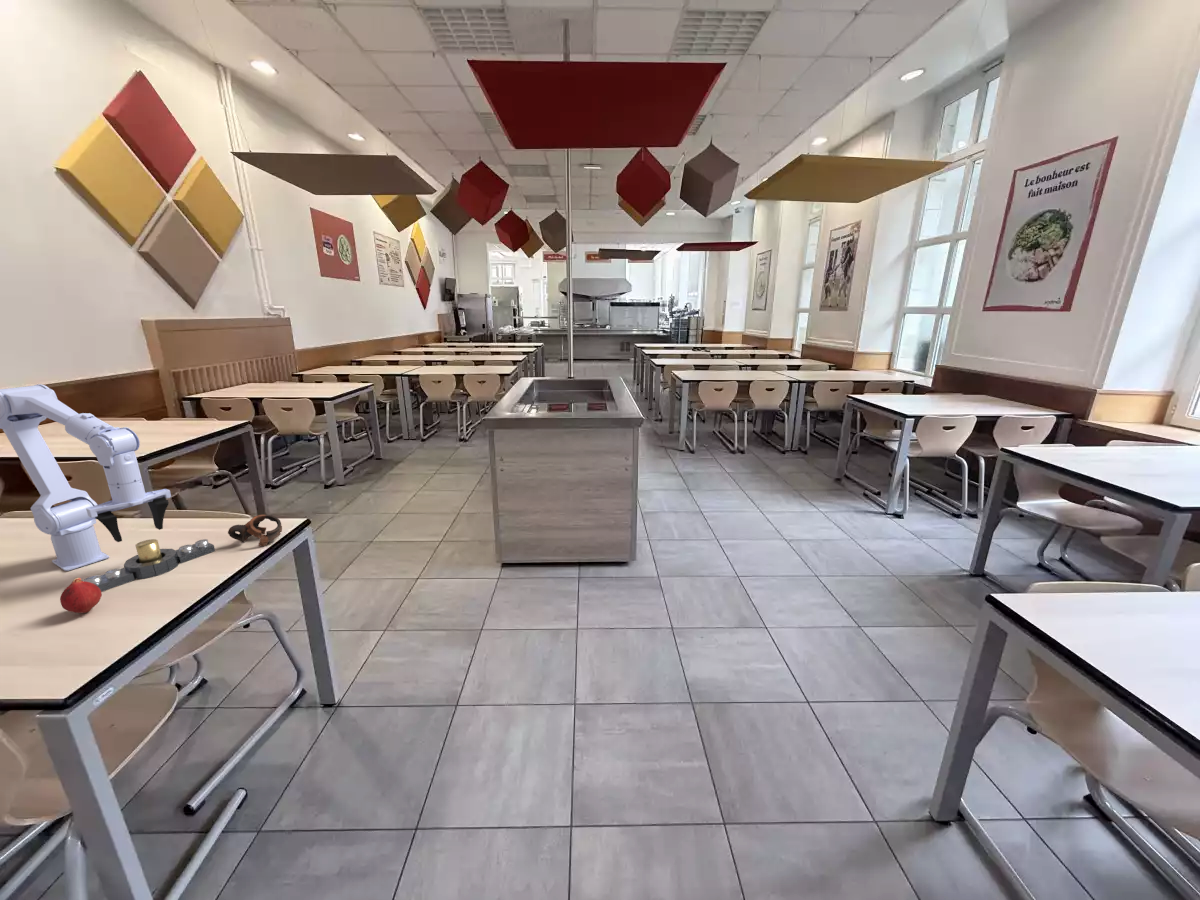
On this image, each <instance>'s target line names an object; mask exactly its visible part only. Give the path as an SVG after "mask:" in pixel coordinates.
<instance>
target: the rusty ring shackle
mask: <svg viewBox="0 0 1200 900" xmlns="http://www.w3.org/2000/svg"><path fill="white" fill-rule="evenodd" d="M265 519H266V520H270V522H275V523H276V524H277V526H276V527H275V528H273V529H271V530H268V531H266V530H267V527H265V526H264V527H262V526H260V524H261V523H262V522H263V521H264V520H265ZM282 532H283V526H282V522H281V520H280V519H279V518H278V517H277V516H275V515H272V514H257V515H256V516H253V517H252V518H251V519H250V520H249V521H248V522H246V523H245V524H235V525H232V526H231V527H230V528H228V531H227V534H228V535H229V537H231V538H232V539H234V540H238V541H240V542H241V543H242V544H243V543H245V542H247V541H248V539H249V538H251V537H252V536H253V537H255V538H257V539H259V543H258V546H259V547H266V546H267V545H268V543H271V542H272V541H274V540H275V539H277V538H278V537H279V536H280V535H282Z"/></svg>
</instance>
